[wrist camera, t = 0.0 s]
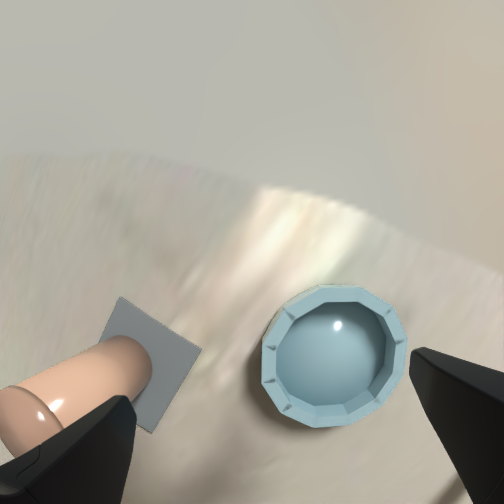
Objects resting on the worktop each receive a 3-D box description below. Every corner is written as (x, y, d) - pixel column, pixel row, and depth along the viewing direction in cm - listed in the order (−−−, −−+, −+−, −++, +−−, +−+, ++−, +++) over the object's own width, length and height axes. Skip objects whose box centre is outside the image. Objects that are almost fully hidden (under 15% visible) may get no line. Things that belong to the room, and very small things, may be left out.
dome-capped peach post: (139, 403, 24) (57, 494, 10) (90, 368, 24) (-12, 431, 10) (163, 357, 24) (76, 443, 10) (111, 321, 24) (-5, 368, 10)
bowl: (345, 427, 23) (352, 443, 21) (236, 375, 24) (233, 389, 21) (414, 323, 23) (430, 329, 21) (308, 258, 24) (313, 258, 21)
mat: (153, 431, 24) (151, 433, 24) (83, 382, 24) (81, 384, 24) (201, 349, 24) (201, 350, 24) (121, 296, 24) (119, 297, 24)
